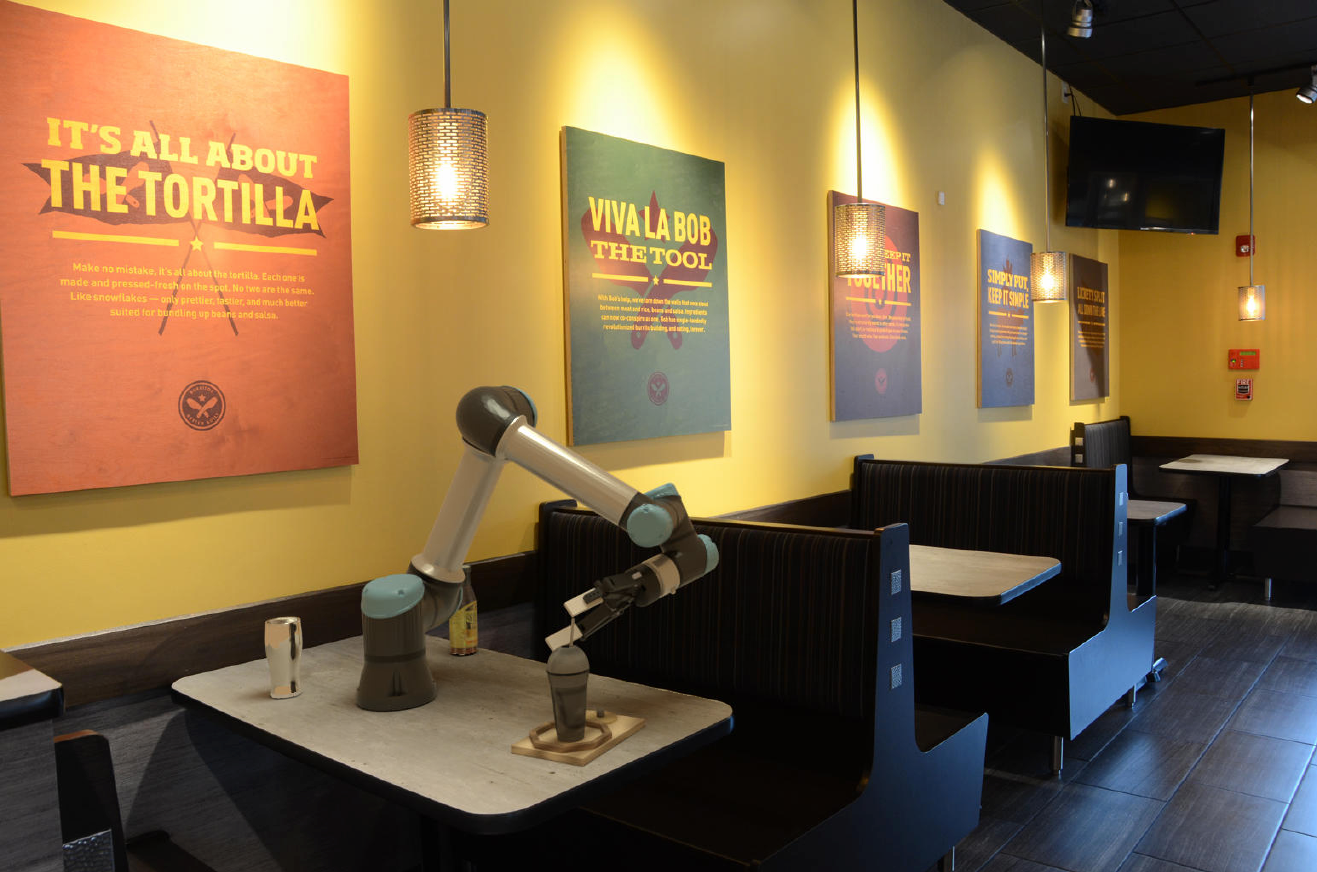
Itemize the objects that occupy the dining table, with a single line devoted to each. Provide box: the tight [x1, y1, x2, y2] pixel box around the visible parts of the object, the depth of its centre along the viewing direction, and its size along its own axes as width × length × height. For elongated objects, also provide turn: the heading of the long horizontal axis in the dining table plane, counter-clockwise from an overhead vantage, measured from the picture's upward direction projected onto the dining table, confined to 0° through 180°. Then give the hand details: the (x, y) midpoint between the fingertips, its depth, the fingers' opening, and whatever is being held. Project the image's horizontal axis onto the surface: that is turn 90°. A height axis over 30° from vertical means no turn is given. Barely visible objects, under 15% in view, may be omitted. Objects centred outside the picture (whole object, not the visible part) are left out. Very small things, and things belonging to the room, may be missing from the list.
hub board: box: [510, 708, 646, 767], centre depth 164 cm, size 14×20×3 cm
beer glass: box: [264, 616, 303, 695], centre depth 193 cm, size 7×7×15 cm
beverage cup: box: [545, 617, 591, 742], centre depth 161 cm, size 7×7×20 cm
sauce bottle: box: [448, 564, 479, 655], centre depth 221 cm, size 6×6×20 cm
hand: (558, 628), depth 171 cm, fingers open, 13 cm apart
